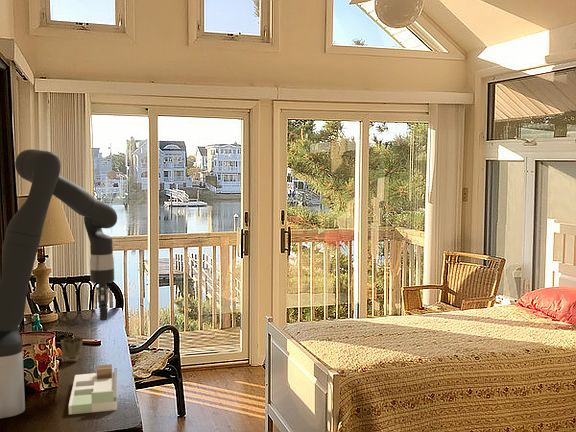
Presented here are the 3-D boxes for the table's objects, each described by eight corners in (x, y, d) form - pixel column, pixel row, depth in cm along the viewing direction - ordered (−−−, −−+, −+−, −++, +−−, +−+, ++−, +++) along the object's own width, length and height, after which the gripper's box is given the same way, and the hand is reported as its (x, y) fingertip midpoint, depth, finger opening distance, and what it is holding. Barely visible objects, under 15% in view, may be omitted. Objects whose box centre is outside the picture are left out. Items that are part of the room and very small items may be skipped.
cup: (60, 364, 226) (59, 342, 225) (62, 359, 233) (61, 337, 232) (82, 363, 228) (82, 340, 227) (83, 357, 235) (83, 335, 234)
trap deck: (116, 409, 183) (116, 390, 183) (68, 414, 180) (68, 395, 180) (117, 378, 210) (116, 362, 210) (75, 382, 207) (74, 365, 207)
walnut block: (111, 377, 204) (111, 368, 203) (97, 379, 203) (96, 369, 202) (112, 373, 208) (111, 364, 208) (97, 374, 207) (97, 365, 207)
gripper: (113, 270, 205) (115, 323, 206) (114, 264, 218) (115, 314, 219) (89, 271, 203) (90, 325, 204) (90, 265, 216) (92, 316, 217)
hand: (103, 319), depth 212 cm, fingers closed
